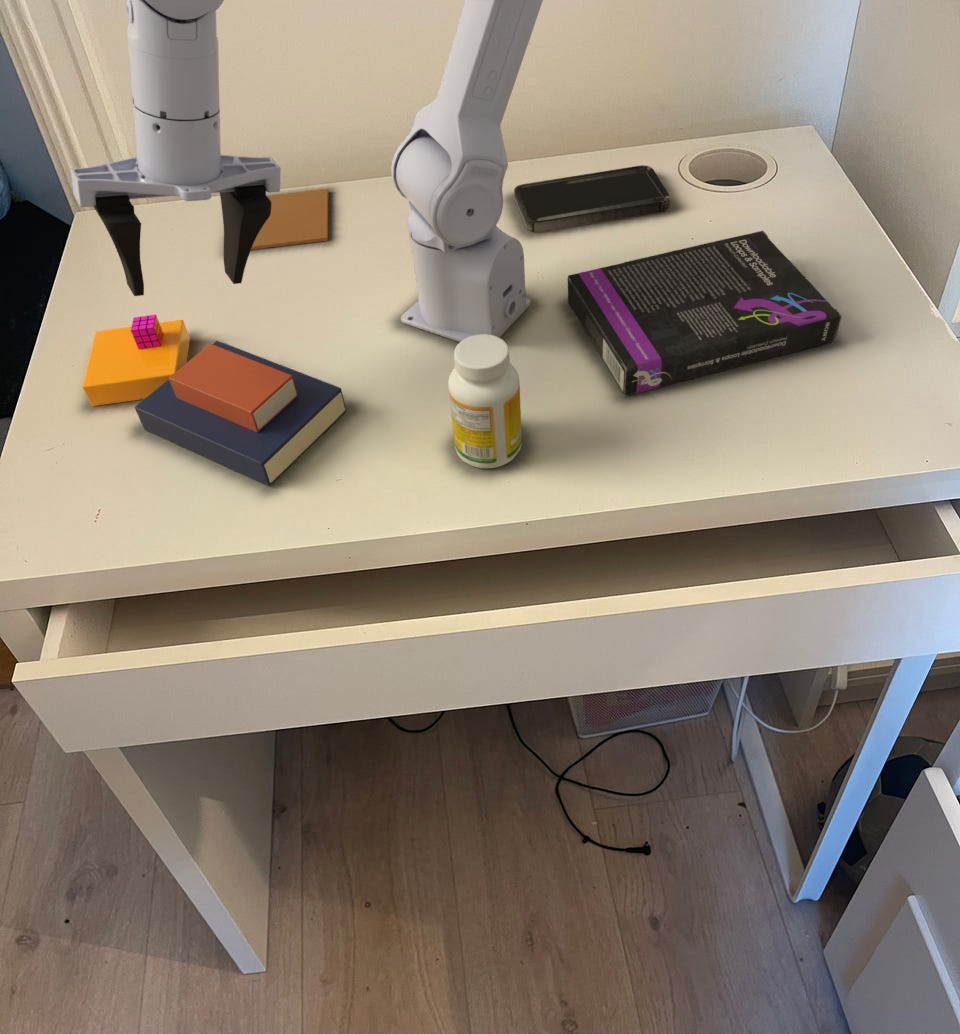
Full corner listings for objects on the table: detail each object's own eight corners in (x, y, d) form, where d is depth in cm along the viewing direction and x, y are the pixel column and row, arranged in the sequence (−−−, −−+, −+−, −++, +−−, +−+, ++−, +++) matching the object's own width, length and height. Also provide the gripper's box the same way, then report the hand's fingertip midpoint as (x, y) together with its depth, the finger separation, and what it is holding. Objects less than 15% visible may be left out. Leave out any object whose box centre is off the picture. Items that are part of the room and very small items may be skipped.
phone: (672, 200, 96) (527, 223, 95) (671, 210, 97) (527, 233, 96) (649, 163, 101) (511, 185, 100) (649, 173, 102) (512, 194, 101)
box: (622, 402, 79) (837, 344, 81) (624, 369, 76) (846, 311, 79) (566, 306, 88) (761, 257, 90) (565, 274, 85) (766, 224, 88)
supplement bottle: (470, 479, 74) (459, 383, 66) (445, 436, 77) (432, 341, 70) (533, 457, 75) (529, 360, 68) (506, 416, 78) (500, 320, 71)
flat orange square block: (183, 394, 83) (168, 355, 80) (91, 406, 83) (72, 368, 80) (190, 338, 88) (176, 300, 85) (104, 350, 88) (86, 312, 85)
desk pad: (328, 191, 105) (327, 188, 105) (327, 240, 98) (327, 237, 98) (238, 202, 105) (237, 199, 104) (231, 252, 98) (230, 248, 98)
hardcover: (347, 411, 80) (342, 388, 78) (270, 487, 75) (262, 464, 73) (224, 363, 86) (216, 339, 84) (144, 430, 80) (133, 407, 78)
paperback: (299, 396, 78) (293, 375, 76) (258, 433, 75) (251, 412, 73) (217, 363, 81) (210, 343, 80) (176, 398, 79) (168, 377, 77)
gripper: (81, 132, 60) (103, 322, 68) (298, 123, 66) (292, 296, 75) (54, 91, 64) (78, 275, 73) (261, 86, 71) (260, 255, 80)
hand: (185, 283), depth 74 cm, fingers open, 7 cm apart
